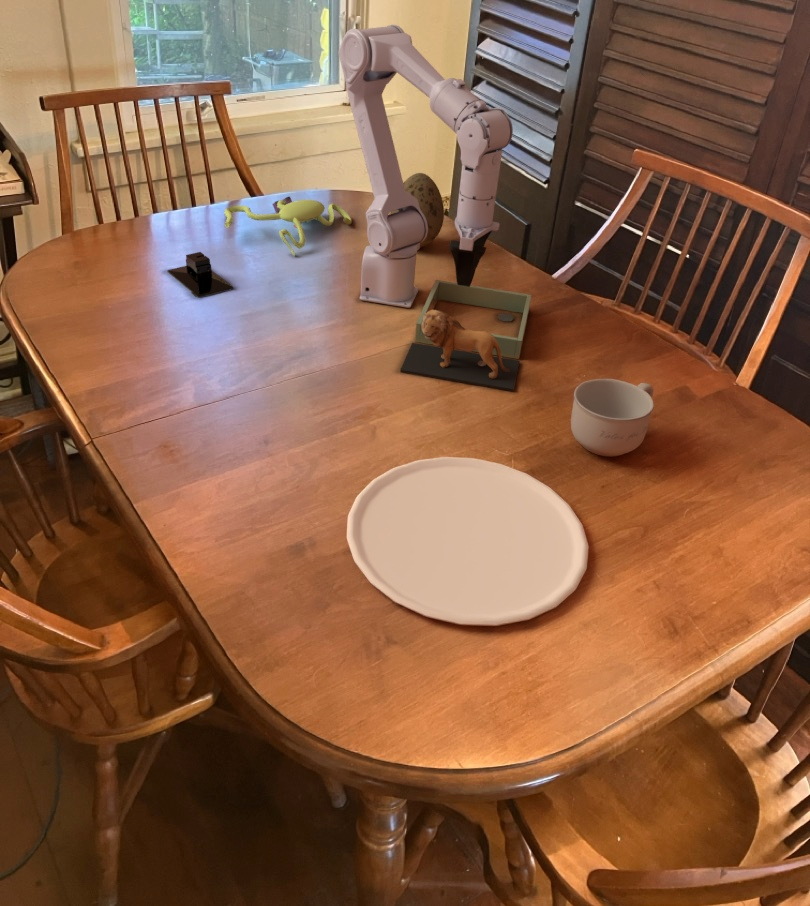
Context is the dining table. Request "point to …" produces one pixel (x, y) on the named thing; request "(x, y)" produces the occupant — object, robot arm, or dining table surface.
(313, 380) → the dining table surface
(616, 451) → the teacup
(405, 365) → the mat
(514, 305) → the green square tray
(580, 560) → the plate
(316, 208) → the figurine
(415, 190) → the decorative egg
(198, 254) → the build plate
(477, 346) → the lion figurine
